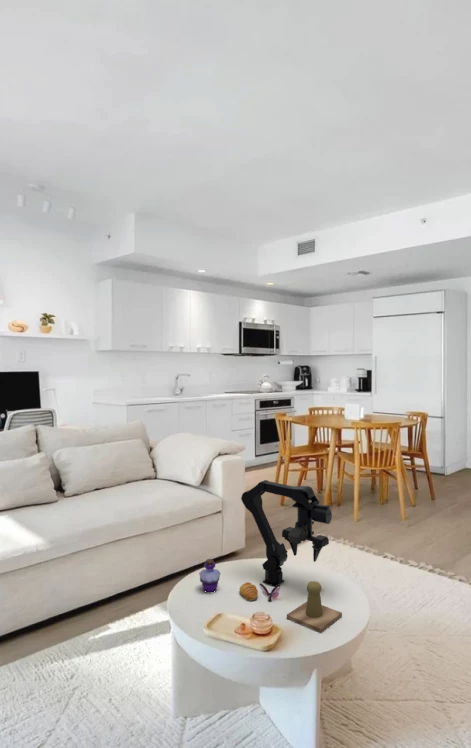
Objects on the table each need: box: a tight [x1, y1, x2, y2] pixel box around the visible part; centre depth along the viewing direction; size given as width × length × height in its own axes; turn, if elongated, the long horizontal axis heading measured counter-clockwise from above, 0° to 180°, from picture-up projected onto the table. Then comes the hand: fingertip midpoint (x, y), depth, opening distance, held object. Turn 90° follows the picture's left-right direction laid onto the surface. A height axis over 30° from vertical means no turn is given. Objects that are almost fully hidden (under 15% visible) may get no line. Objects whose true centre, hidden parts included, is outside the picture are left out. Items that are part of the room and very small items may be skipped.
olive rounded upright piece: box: [306, 581, 323, 618], centre depth 177 cm, size 6×6×11 cm
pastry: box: [239, 581, 259, 602], centre depth 194 cm, size 9×7×4 cm
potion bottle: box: [198, 558, 221, 593], centre depth 199 cm, size 9×9×12 cm
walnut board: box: [286, 601, 343, 634], centre depth 177 cm, size 14×14×2 cm
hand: (304, 558), depth 197 cm, fingers open, 9 cm apart
